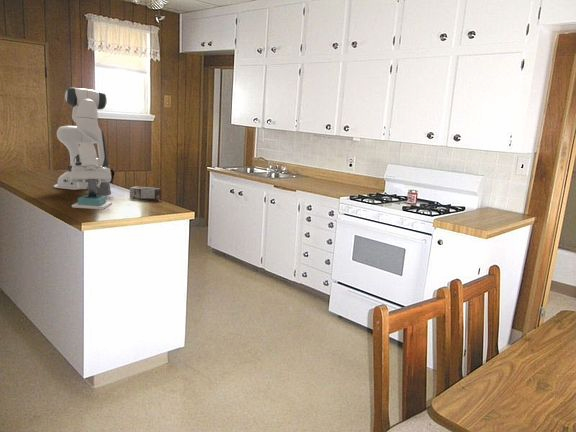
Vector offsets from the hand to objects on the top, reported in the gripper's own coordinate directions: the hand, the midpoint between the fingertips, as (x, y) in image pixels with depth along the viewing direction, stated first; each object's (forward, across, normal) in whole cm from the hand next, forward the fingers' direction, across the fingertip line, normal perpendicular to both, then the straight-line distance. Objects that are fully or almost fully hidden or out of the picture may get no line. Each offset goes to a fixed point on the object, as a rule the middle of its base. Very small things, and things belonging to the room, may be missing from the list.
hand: (92, 187), depth 244 cm
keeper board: (+6, 0, -8) cm, 10 cm away
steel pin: (+3, 0, -4) cm, 5 cm away
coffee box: (-12, -26, -21) cm, 35 cm away
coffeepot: (-19, -11, -33) cm, 40 cm away
